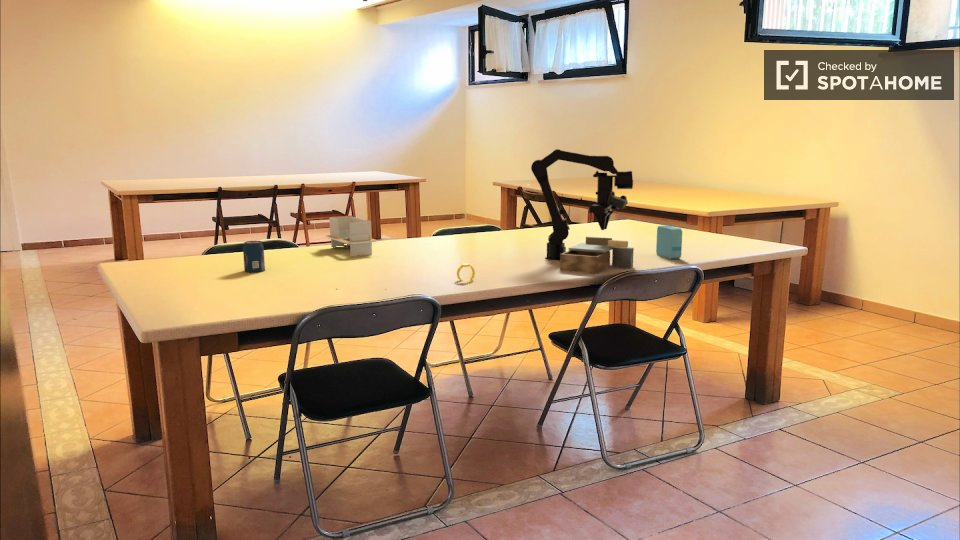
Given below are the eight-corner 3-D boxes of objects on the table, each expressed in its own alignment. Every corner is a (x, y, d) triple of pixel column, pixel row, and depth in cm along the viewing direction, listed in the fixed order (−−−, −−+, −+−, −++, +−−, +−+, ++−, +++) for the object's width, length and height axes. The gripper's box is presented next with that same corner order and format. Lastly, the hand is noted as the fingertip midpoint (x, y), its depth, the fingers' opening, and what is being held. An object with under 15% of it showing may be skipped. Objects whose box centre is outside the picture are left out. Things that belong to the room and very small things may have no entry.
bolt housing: (612, 266, 268) (612, 247, 267) (614, 265, 271) (615, 246, 269) (630, 268, 265) (631, 249, 263) (632, 267, 267) (633, 247, 266)
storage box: (560, 270, 262) (560, 254, 261) (574, 264, 274) (574, 248, 273) (597, 273, 255) (597, 257, 254) (609, 267, 267) (610, 251, 266)
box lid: (568, 250, 267) (568, 241, 267) (581, 244, 280) (582, 236, 279) (605, 252, 261) (605, 243, 260) (617, 247, 273) (617, 238, 272)
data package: (681, 259, 283) (682, 228, 281) (670, 259, 282) (672, 229, 280) (665, 254, 295) (667, 225, 292) (655, 254, 294) (657, 225, 291)
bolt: (607, 246, 268) (607, 240, 268) (609, 245, 270) (609, 239, 269) (626, 247, 265) (626, 241, 264) (627, 246, 266) (628, 241, 266)
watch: (472, 279, 246) (472, 262, 245) (475, 281, 244) (475, 264, 243) (456, 281, 244) (455, 264, 243) (459, 282, 241) (458, 265, 240)
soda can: (243, 274, 258) (241, 241, 256) (264, 272, 261) (261, 239, 259) (245, 277, 252) (243, 243, 250) (266, 276, 255) (264, 242, 252)
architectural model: (325, 252, 307) (323, 217, 304) (354, 250, 313) (352, 215, 310) (347, 261, 285) (346, 223, 282) (378, 258, 292) (376, 221, 289)
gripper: (617, 191, 265) (616, 233, 268) (632, 187, 281) (631, 228, 284) (588, 190, 270) (587, 232, 273) (605, 187, 286) (604, 226, 289)
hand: (603, 229), depth 280 cm, fingers closed
